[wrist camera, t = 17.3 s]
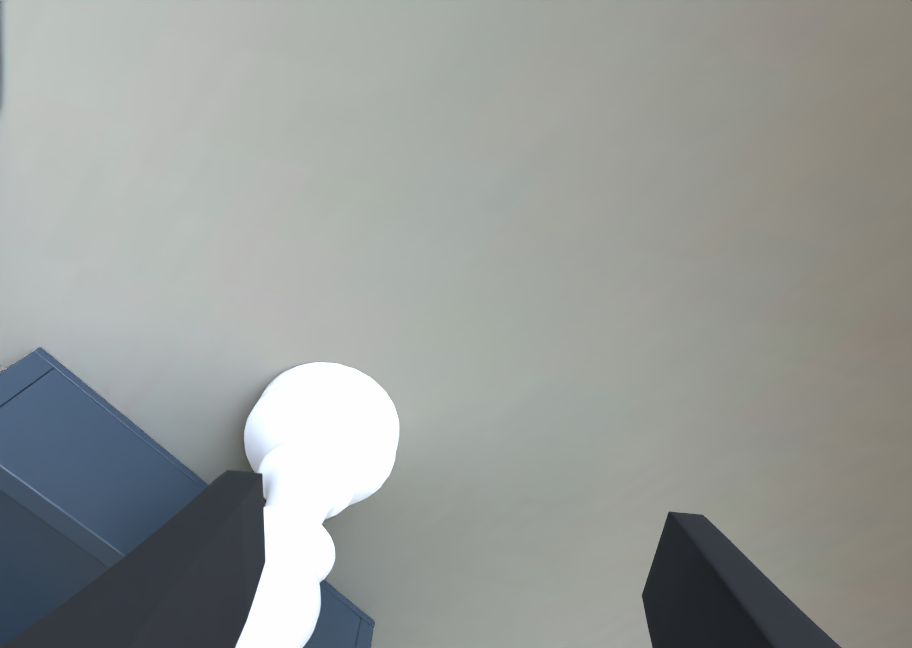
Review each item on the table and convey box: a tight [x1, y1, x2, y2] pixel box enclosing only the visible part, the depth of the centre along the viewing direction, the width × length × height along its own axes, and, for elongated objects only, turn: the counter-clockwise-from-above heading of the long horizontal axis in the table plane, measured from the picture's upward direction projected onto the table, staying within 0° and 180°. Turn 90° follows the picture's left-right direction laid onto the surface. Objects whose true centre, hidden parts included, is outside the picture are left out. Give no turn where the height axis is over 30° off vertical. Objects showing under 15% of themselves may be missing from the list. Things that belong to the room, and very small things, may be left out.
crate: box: [0, 348, 375, 648], centre depth 22 cm, size 17×15×4 cm
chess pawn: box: [235, 362, 399, 648], centre depth 16 cm, size 5×5×9 cm
